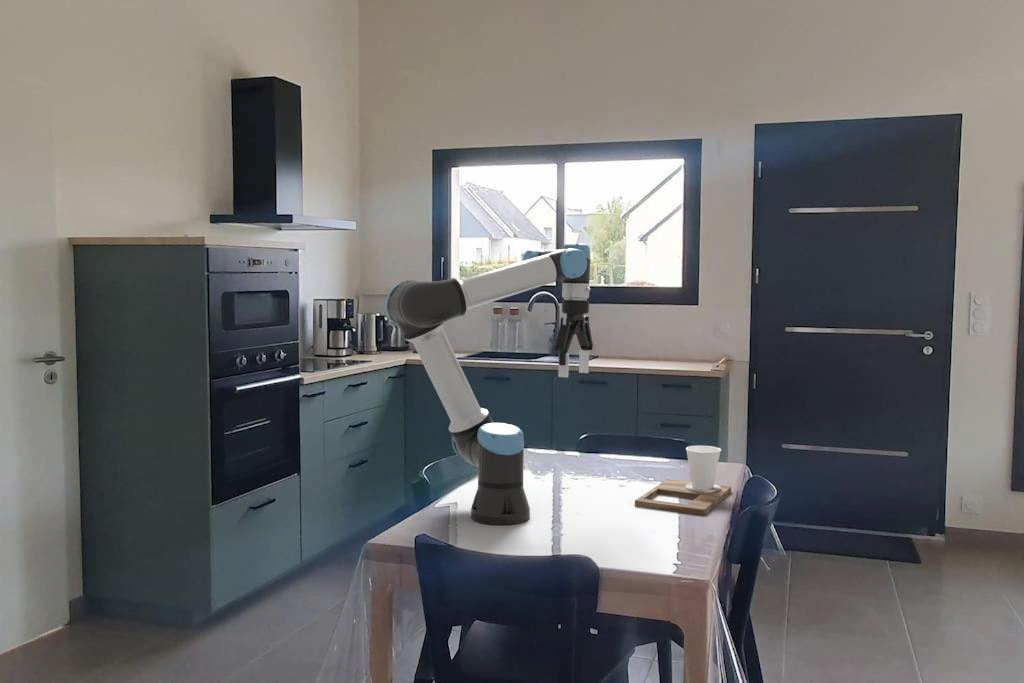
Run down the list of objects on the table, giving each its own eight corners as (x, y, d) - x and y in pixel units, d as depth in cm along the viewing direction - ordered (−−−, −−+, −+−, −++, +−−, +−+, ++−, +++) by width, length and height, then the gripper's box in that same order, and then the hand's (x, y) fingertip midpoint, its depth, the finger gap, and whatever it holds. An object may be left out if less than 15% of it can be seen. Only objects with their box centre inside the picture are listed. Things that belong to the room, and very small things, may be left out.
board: (704, 515, 227) (704, 507, 227) (634, 505, 236) (634, 498, 236) (731, 491, 252) (731, 485, 252) (667, 484, 261) (667, 477, 261)
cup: (685, 490, 245) (685, 451, 245) (685, 482, 255) (685, 444, 254) (721, 492, 243) (722, 452, 243) (719, 483, 253) (720, 446, 252)
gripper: (568, 300, 232) (566, 379, 233) (605, 299, 254) (603, 372, 255) (543, 299, 235) (541, 377, 237) (581, 298, 257) (579, 370, 259)
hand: (573, 375), depth 246 cm, fingers open, 13 cm apart
